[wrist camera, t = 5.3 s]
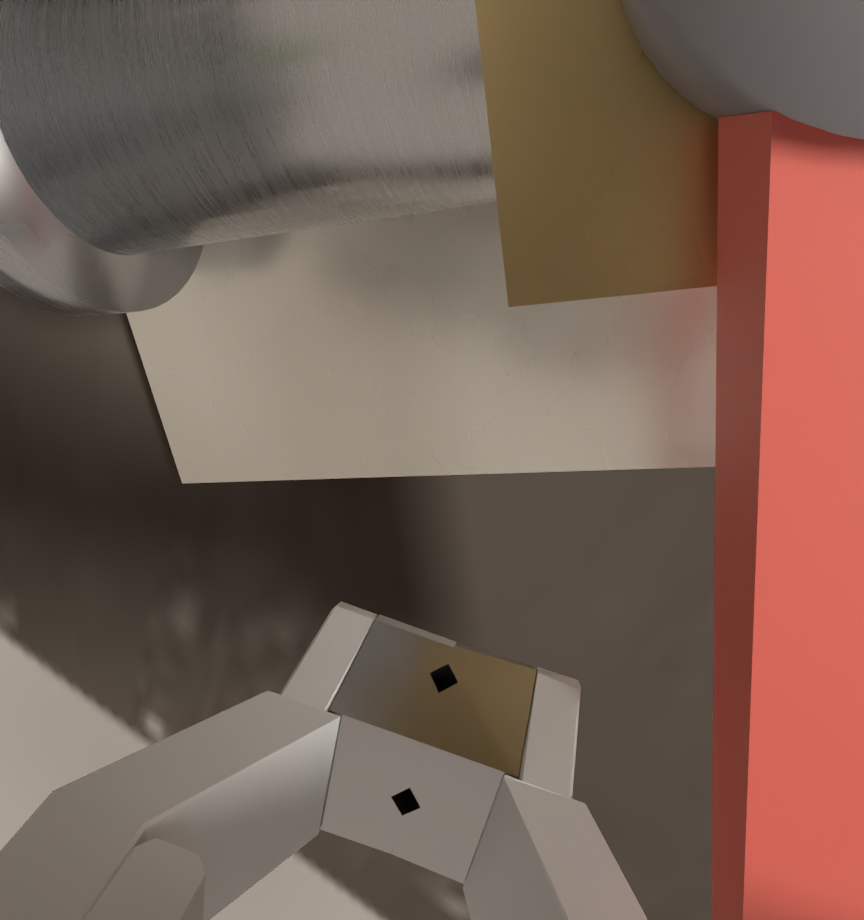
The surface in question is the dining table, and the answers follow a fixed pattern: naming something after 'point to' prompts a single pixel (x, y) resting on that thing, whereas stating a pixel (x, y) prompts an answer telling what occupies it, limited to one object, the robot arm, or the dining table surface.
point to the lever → (783, 442)
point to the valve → (372, 228)
